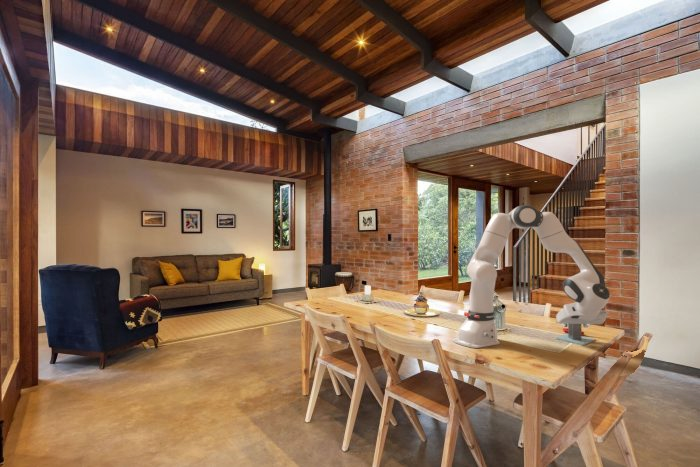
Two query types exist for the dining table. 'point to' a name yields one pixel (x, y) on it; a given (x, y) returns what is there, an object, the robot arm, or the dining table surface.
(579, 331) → the link block
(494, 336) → the robot arm
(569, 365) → the dining table surface
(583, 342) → the pad
